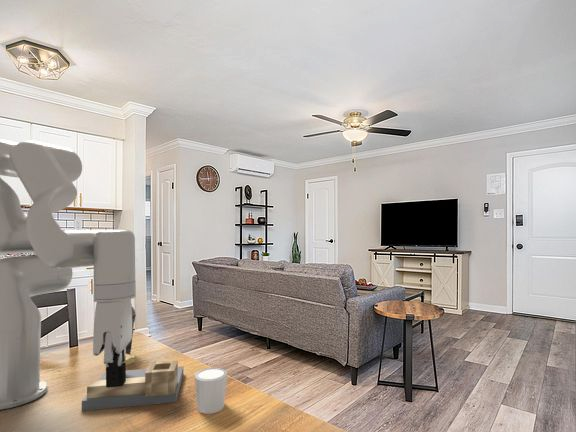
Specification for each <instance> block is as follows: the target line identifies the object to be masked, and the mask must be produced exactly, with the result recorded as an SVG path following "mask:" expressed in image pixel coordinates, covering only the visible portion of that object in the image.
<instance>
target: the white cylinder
mask: <svg viewBox="0 0 576 432" xmlns="http://www.w3.org/2000/svg"><path fill="white" fill-rule="evenodd" d="M193 376H194V386H195V396H196V398H195V399H196V408H197V412H199V413H202V414H211V415H212V414H214V413H218V412H220V411H222V410H223V409H224V408H225V399H226V389H227V379H228V372H227V370H226V369H223V368H219V367H208V368H204V369H203V368H202V369H201V370H199V371H197V372H195V373H194V375H193Z"/></svg>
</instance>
